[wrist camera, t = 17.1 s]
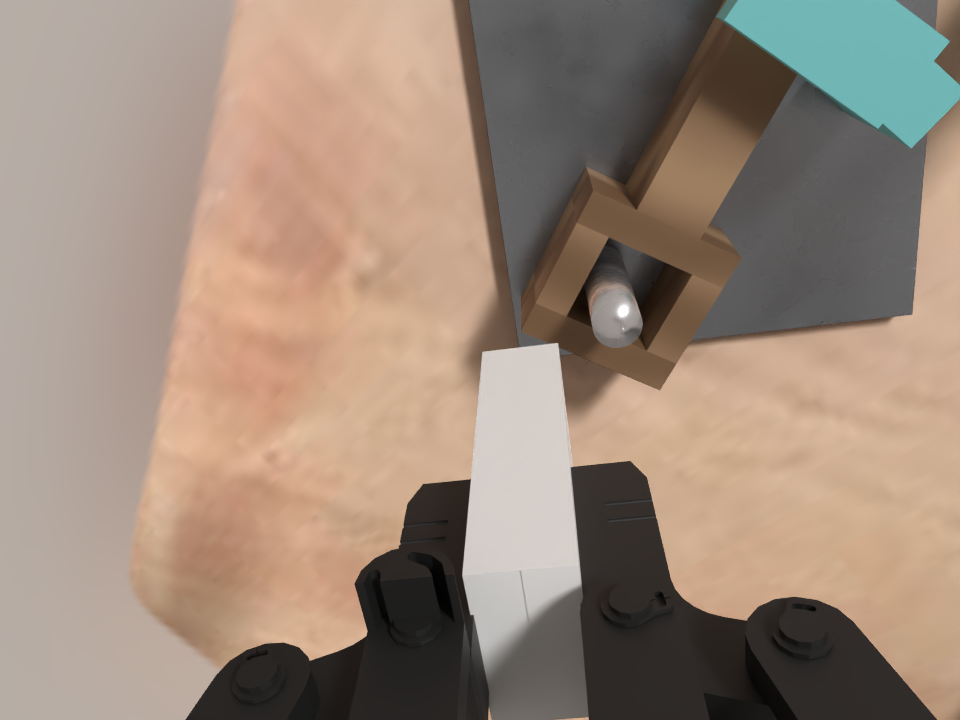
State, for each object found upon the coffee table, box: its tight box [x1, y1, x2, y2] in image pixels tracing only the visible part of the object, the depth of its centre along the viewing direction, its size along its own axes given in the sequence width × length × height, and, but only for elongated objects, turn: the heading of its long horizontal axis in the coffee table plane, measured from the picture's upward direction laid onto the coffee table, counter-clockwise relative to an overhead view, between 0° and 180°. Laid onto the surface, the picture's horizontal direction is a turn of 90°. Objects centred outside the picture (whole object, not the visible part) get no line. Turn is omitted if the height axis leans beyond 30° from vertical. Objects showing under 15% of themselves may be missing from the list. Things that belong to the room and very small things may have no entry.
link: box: [521, 0, 797, 390], centre depth 36 cm, size 18×7×4 cm, turn 156°
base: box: [469, 0, 938, 355], centre depth 35 cm, size 19×19×8 cm
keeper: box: [716, 0, 960, 148], centre depth 33 cm, size 4×9×8 cm, turn 59°
